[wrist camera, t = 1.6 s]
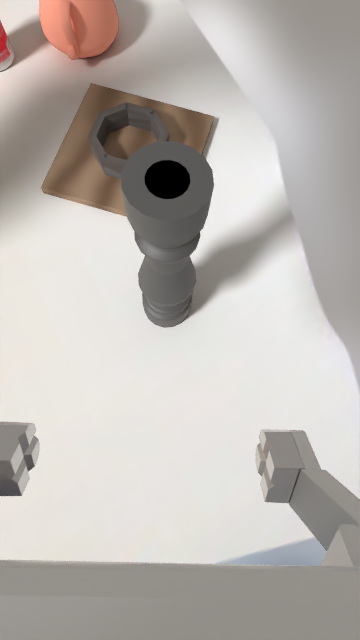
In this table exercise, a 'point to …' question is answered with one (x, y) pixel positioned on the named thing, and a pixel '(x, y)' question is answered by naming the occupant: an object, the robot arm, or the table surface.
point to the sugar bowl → (79, 25)
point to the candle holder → (167, 223)
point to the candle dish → (116, 144)
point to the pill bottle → (5, 50)
